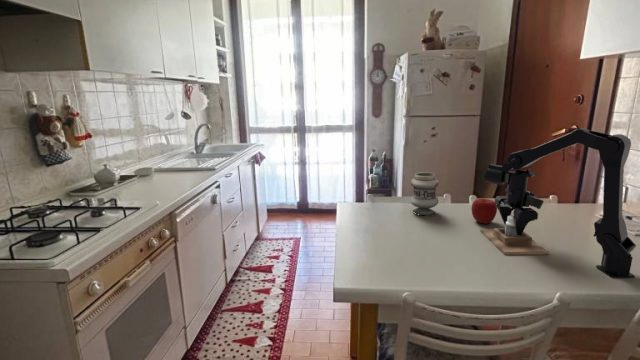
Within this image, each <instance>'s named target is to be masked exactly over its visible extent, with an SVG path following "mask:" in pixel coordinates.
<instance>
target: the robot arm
mask: <svg viewBox="0 0 640 360" xmlns="http://www.w3.org/2000/svg"><path fill="white" fill-rule="evenodd" d="M631 141H632V140H631V139H630V138H629V137H628V136H627V135H624V134H620V133H616V134H608V133H606V132H600V131H595V130H590V129H588V128H587V127H586V128H585V127H581V128H577V129H574V130H572V131H571V132H569V133H567V134H564V135H562V136H560V137H559V136H558V138H555V139H552V140H550V141H548V142H545V143H541V144H540V145H538V146H536V147H535V146H534V147H531V148H527V149H523V150H522V149H521V150H518V151H514V152H511V153H510V154H509V155H508V157H507V160H506V162H505V163H504V164H503V165H498V164H495V163H494V164H493V163H491V164H488V167H487V169H486V171H485V174H484V182H485V183H489V184H495V185H500V186H504V185H505V184H506V183H507V188H504V192H505V193H506V195H497V196H496V197H495V198H494V202H495V204H496V206H497V211H498V212H499V214H500V217H501V219H502V222H503V224H504V226H505V227H506V222H507V217H508V216H511V215H512V212H513V216H514V217H513V220H514V224H515V228H516V232H517V235H518V236H519V235H521V234H522V233H523V231H524V232H525V229H526V227H527V225H528V224H529V223H530V222H532V221H536V220H538V219H539V213H538V211H536V210H535V209H533V208H531V207H534V208H536V209H537V210H541V208H542V206H543V204H544V202H545V200H543V199H542V198H539V197H537V196H535V193H533V192H532V191H528V190H527V187H528V179H529V178H532V177H535V176H536V173H535V172H534V171H533V170H532V168H528V169H526V170H523V168H527V167H529V166H531V165H532V164H534V163H536V162H538V161H539V160H540V159H542V158H543V157H545V156H548V155H550V154H554V153H556V152H558V151H561V150H563V149H567V148H568V147H572V146H573V145H574V146H575V145H577V144H581V145H583V146H585V147H587V148H590V149H593V150H596V151H598V154H599V158H600V161H601V163H602V166H603V204H602V205H603V206H602V207H603V209H602V218H601V217H600V218H598V219H597V220H596V221H594V223H593V224H594V225H593V226H594V233H593V237H595V238H596V239H595V240H596V243H598V244H599V245H600V247H601V250H602V258H601V264H596V265H595V268H596V269H598V270H600V271H601V272H602V273H605V274H606V275H607V276H609V277H610V278H635V274H633V273H631V268H632V263H633V256H632V253H631V252H633V251H634V250H635V248H636V247H637V244H635V242H634V241H633V240H632V239H631V238H630V237H629V236H628V229H627V223H626V221H625V219H624V217H623V202H624V201H623V199H624V194H623V193H624V173H625V172H624V168H625V165H626V162H627V160H628V157H629V154H630V150H631V146H632V142H631ZM512 170H513V171H512ZM530 206H531V207H530Z"/></svg>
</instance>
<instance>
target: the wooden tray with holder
mask: <svg viewBox="0 0 640 360" xmlns="http://www.w3.org/2000/svg"><path fill="white" fill-rule="evenodd" d="M479 232H480V233H481V234H482V235H483V236H484V237H485V238H486V239H487V240H488V241H489V242H491V243H492V245H493V246H494V247H495V248H496V249H498V251H500V252H501V253H502V254H503V255H505V256H506V255H508V256H509V255H510V256H511V255H520V256H521V255H549V250H547V249H546V248H544V247H543V246H542V245H540V244H539V243H538V242H536V241H535V240H534V239H533V237H531V235H529V234H528V233H526V232H525V230H524V231H523V233H522V234H521V235H520V237H506V236H505V227H504V228H502V227H498V228H497V227H494V228H480V230H479Z"/></svg>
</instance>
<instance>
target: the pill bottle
mask: <svg viewBox="0 0 640 360" xmlns="http://www.w3.org/2000/svg"><path fill="white" fill-rule="evenodd" d="M513 217H514V214H513V215H512V214H511V216H508V217H507V222H506V226H505V227H504V228H505V236H506V237H520V235H519V236H518V235H517V232H516V228H515V224H514V220H513Z"/></svg>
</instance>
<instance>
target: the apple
mask: <svg viewBox="0 0 640 360" xmlns="http://www.w3.org/2000/svg"><path fill="white" fill-rule="evenodd" d="M496 205H497V204H495V200H492V199H488V198H477V199H475V200H473V202H472V205H471V215H472V217H473V219H474V221H476V222H477V223H480V224H484V225H487V224H490V223H492V221H493V220H494V219H495V218H496V215H497V214H498V213H497V212H498V208H497V206H496Z"/></svg>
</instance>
